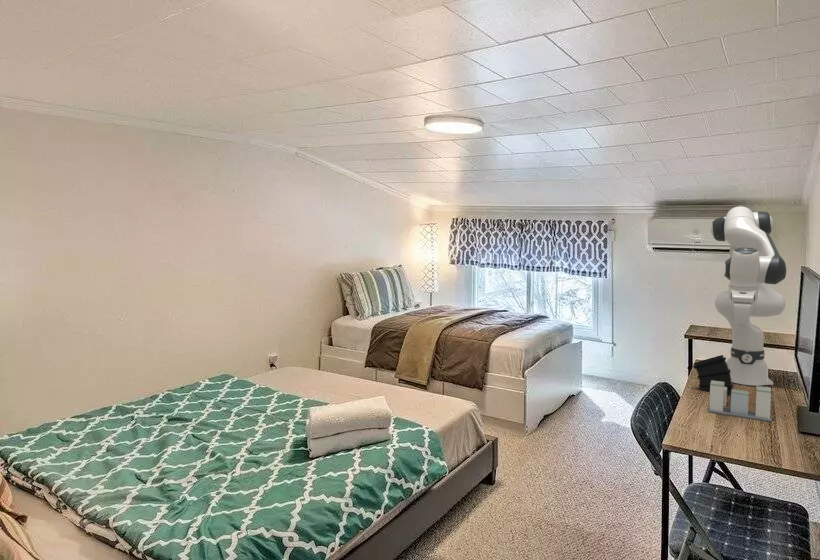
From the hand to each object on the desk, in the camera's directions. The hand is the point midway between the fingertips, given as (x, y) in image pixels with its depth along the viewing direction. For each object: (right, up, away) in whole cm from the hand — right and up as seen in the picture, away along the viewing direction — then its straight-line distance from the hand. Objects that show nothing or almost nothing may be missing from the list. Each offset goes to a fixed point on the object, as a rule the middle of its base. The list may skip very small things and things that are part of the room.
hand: (740, 332), depth 182 cm
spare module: (-3, -27, +8) cm, 29 cm away
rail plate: (-3, -28, -4) cm, 28 cm away
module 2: (-3, -27, -4) cm, 28 cm away
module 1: (-9, -28, 0) cm, 29 cm away
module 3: (+2, -28, -7) cm, 29 cm away
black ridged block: (+3, -26, +23) cm, 35 cm away
